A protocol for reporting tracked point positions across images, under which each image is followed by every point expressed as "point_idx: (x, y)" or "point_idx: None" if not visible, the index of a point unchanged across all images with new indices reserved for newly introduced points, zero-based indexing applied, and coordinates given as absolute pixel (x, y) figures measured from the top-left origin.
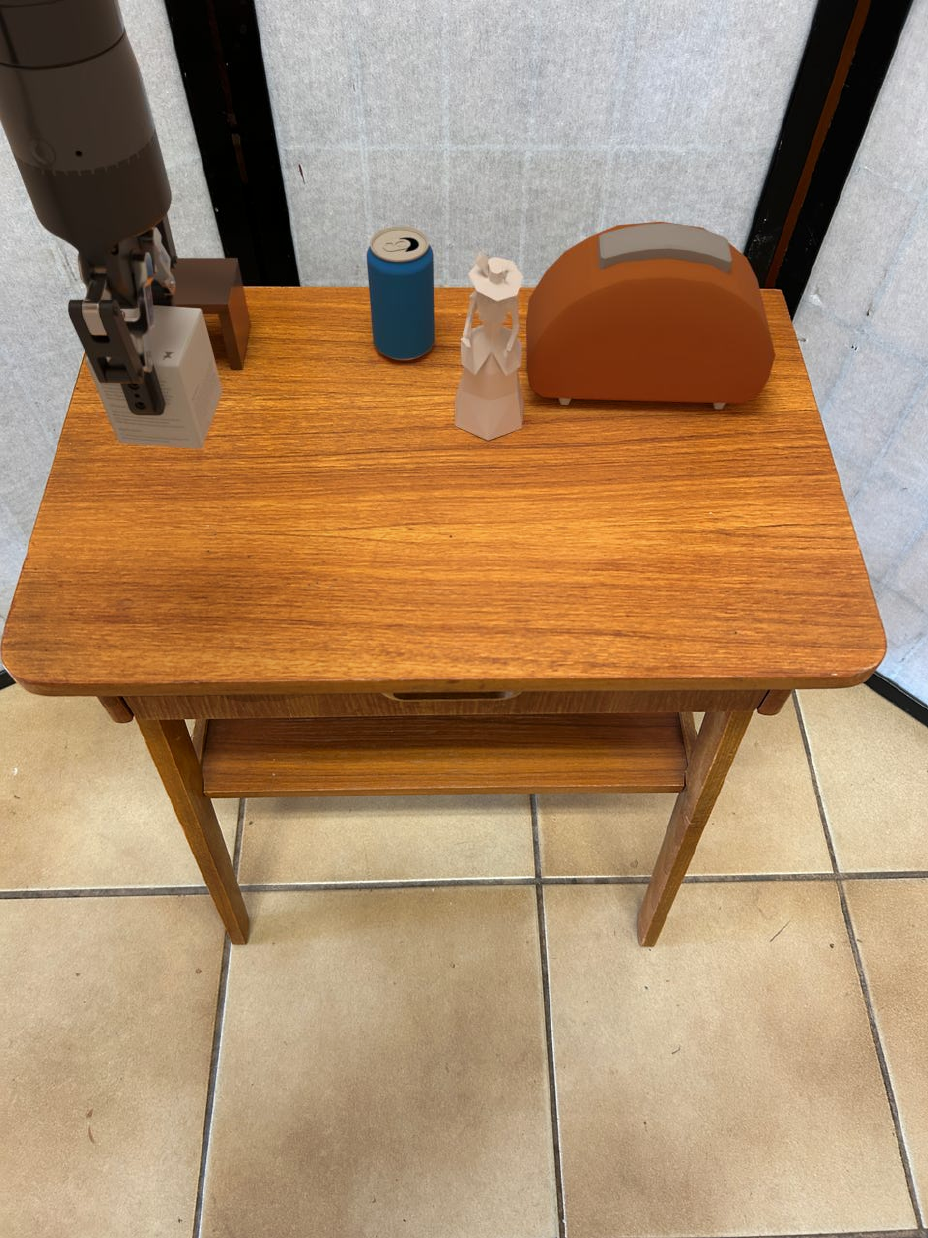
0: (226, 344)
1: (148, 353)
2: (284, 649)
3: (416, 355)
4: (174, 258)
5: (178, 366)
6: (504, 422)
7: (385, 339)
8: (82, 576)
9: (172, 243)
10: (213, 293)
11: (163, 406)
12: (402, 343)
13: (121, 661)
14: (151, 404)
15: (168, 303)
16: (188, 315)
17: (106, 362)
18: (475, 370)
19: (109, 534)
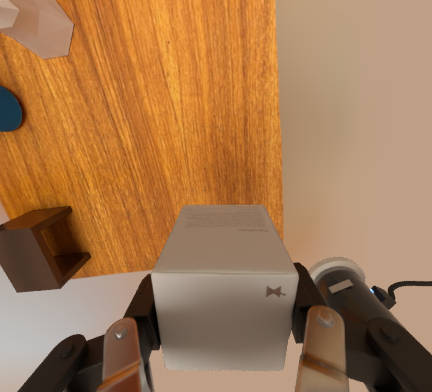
0: (58, 219)
1: (321, 330)
2: (264, 135)
3: (12, 95)
4: (66, 354)
5: (295, 271)
6: (53, 5)
7: (8, 118)
8: None
9: (35, 381)
10: (24, 238)
11: None
12: (6, 104)
13: (274, 211)
14: (307, 273)
15: (150, 315)
16: (174, 286)
17: (383, 389)
18: (14, 8)
19: None
